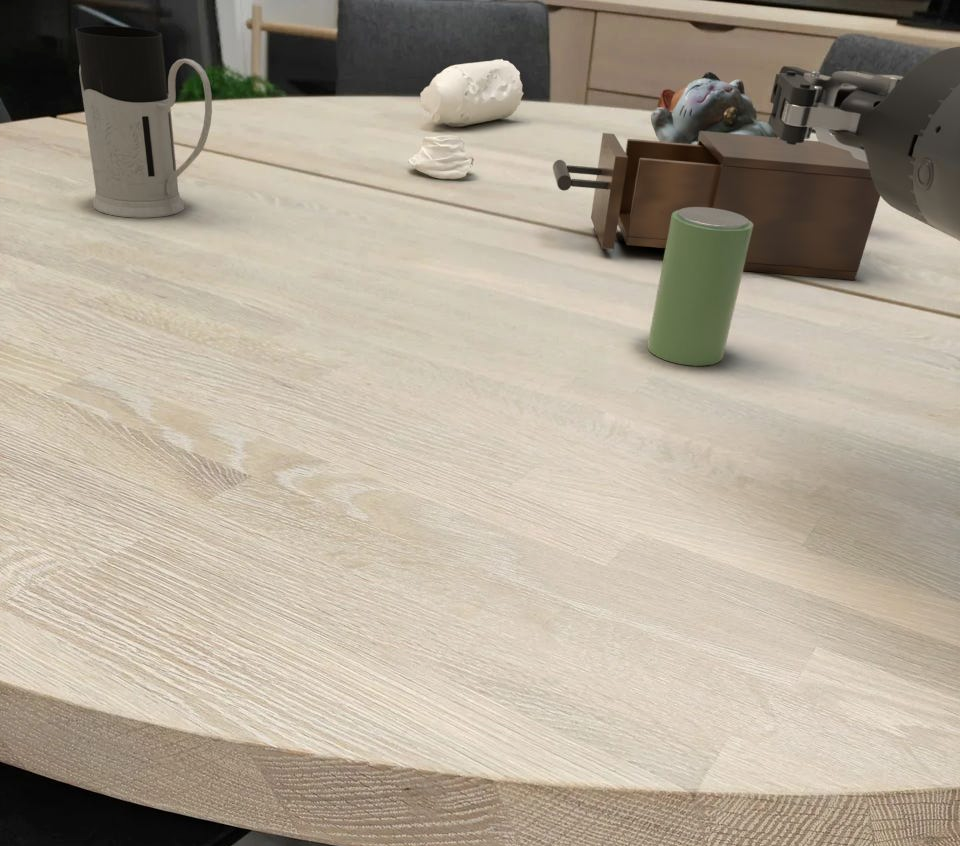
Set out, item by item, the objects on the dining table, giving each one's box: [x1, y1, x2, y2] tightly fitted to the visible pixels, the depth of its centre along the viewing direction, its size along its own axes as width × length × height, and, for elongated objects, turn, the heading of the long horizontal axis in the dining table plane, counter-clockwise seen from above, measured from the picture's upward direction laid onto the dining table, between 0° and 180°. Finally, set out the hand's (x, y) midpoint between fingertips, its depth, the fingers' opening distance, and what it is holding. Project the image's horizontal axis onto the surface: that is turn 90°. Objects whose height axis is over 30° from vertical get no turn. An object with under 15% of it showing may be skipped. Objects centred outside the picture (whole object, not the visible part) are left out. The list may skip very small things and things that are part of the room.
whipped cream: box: [407, 135, 475, 180], centre depth 120 cm, size 8×7×5 cm
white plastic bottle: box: [419, 58, 525, 128], centre depth 146 cm, size 8×19×8 cm, turn 147°
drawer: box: [552, 132, 721, 250], centre depth 100 cm, size 19×11×8 cm, turn 90°
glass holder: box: [74, 25, 213, 219], centre depth 94 cm, size 9×14×15 cm, turn 64°
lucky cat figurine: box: [650, 71, 779, 145], centre depth 128 cm, size 15×12×14 cm
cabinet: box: [697, 131, 881, 281], centre depth 100 cm, size 16×13×10 cm
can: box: [646, 207, 754, 367], centre depth 76 cm, size 6×6×10 cm
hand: (817, 89), depth 59 cm, fingers open, 4 cm apart
